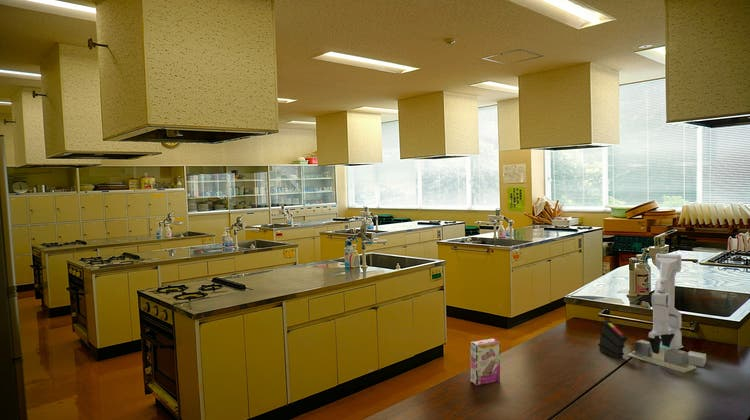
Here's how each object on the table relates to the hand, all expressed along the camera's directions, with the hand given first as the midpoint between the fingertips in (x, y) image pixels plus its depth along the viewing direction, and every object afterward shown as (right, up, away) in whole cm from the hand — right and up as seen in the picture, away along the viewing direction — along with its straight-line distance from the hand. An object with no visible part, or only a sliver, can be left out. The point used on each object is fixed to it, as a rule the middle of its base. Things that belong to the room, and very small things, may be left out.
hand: (660, 351), depth 208 cm
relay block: (+14, -5, -2) cm, 15 cm away
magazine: (-16, -5, +9) cm, 19 cm away
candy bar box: (-79, -8, -15) cm, 81 cm away
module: (0, -3, 0) cm, 3 cm away
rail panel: (0, -5, 0) cm, 5 cm away
